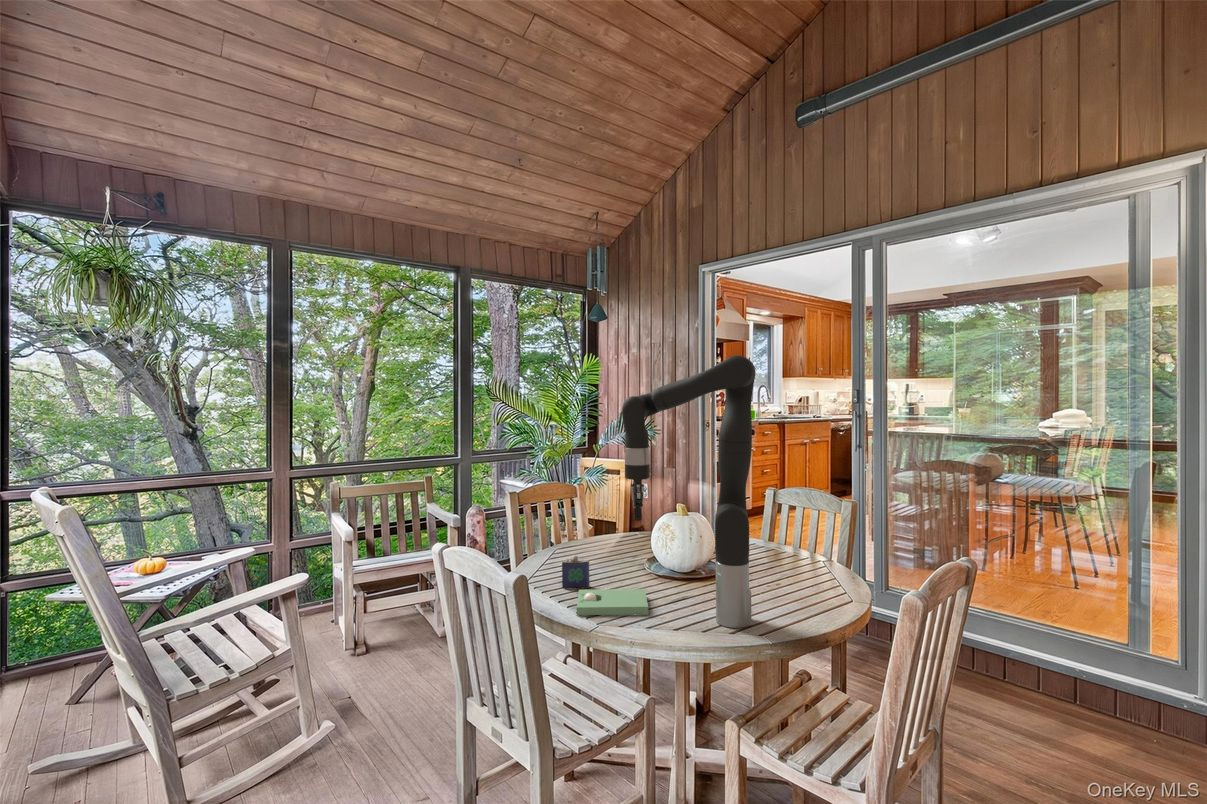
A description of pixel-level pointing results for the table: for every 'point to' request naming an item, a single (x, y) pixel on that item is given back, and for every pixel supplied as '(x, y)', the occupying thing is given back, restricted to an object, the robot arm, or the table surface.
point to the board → (613, 602)
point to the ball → (590, 597)
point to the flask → (575, 573)
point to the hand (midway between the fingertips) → (637, 520)
